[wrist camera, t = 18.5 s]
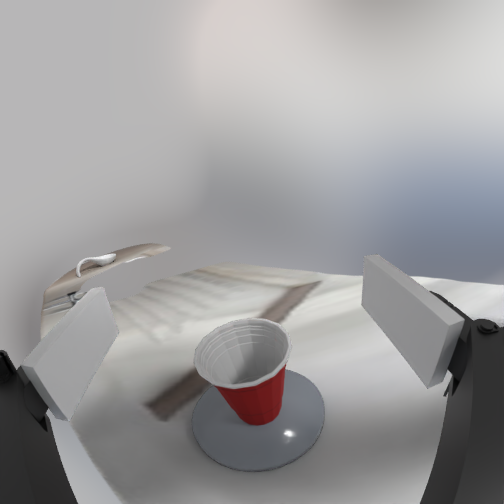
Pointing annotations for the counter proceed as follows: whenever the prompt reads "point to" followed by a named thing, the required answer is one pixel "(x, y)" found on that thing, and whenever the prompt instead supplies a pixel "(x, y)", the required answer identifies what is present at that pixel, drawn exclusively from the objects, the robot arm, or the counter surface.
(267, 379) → the plastic cup
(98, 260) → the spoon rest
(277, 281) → the counter surface
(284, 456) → the gray round coaster
